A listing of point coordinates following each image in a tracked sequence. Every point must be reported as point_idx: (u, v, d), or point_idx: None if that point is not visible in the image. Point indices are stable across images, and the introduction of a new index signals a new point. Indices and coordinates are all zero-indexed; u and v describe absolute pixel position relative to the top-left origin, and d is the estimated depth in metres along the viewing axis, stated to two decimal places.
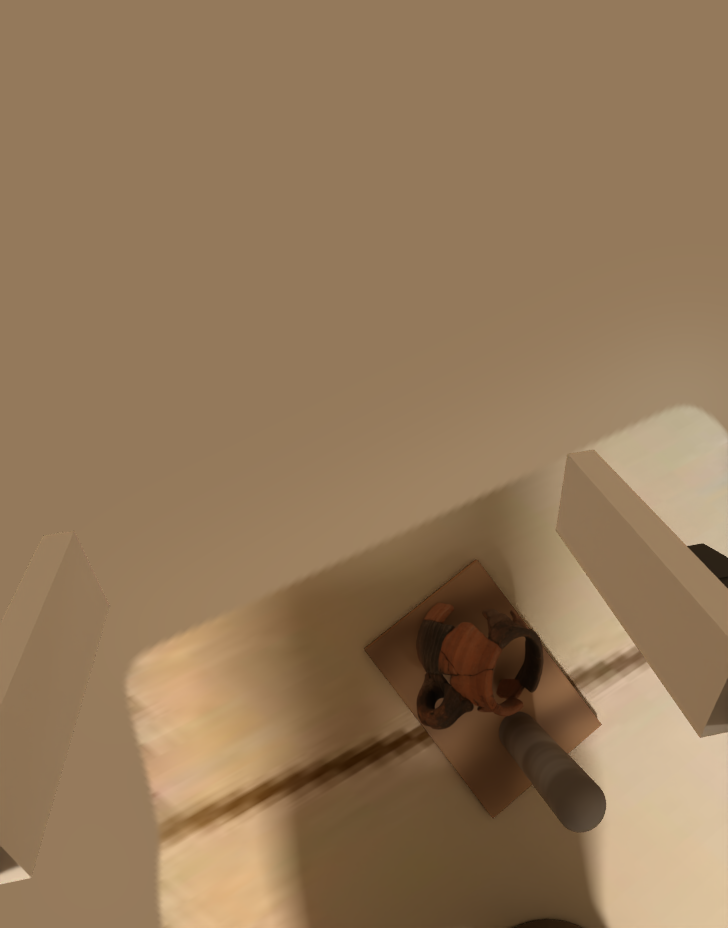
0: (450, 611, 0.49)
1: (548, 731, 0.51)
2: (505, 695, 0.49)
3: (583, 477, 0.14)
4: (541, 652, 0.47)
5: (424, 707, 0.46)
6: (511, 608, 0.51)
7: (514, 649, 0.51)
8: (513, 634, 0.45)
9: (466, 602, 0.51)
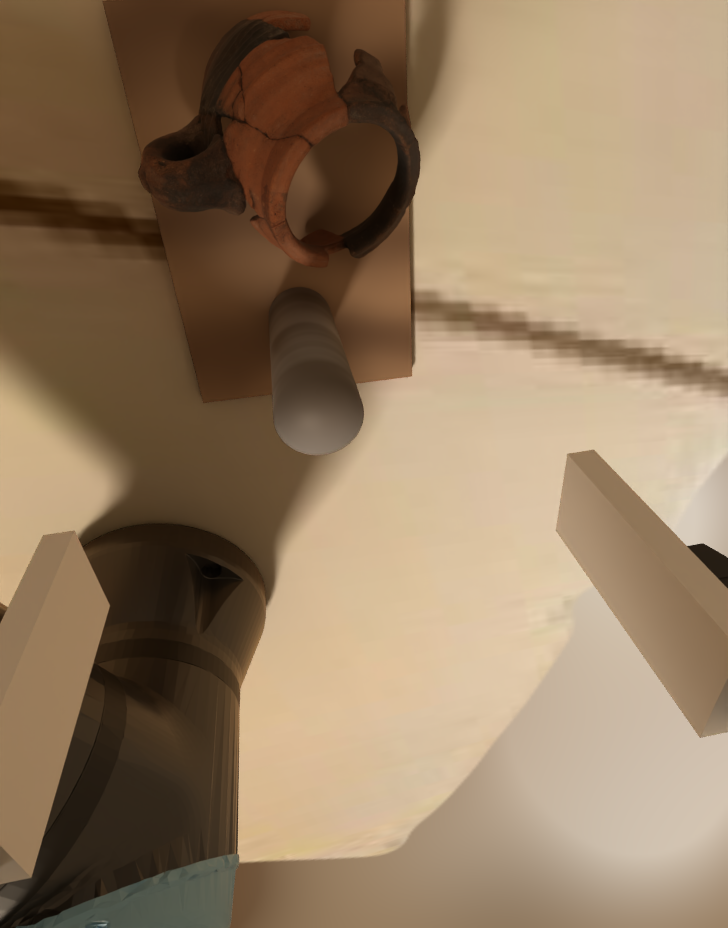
0: (299, 26, 0.23)
1: None
2: None
3: (583, 477, 0.14)
4: (406, 202, 0.26)
5: (155, 152, 0.23)
6: None
7: (366, 197, 0.29)
8: (385, 114, 0.22)
9: (340, 53, 0.26)
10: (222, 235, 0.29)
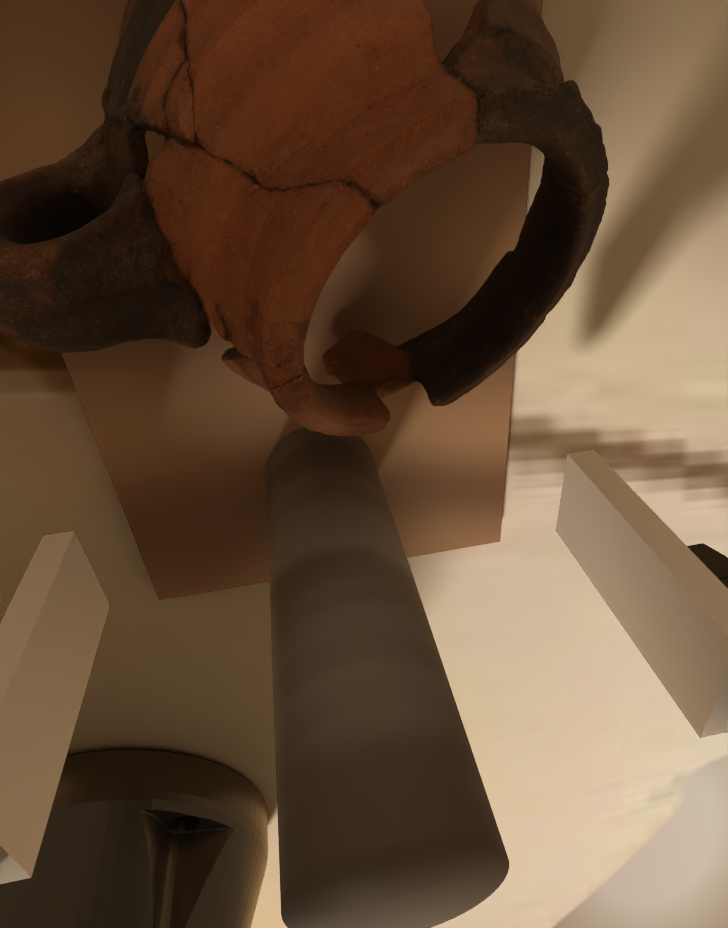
0: None
1: (388, 503, 0.20)
2: (345, 373, 0.15)
3: (583, 477, 0.14)
4: (552, 303, 0.12)
5: None
6: None
7: (445, 272, 0.16)
8: (563, 119, 0.08)
9: None
10: (178, 346, 0.16)
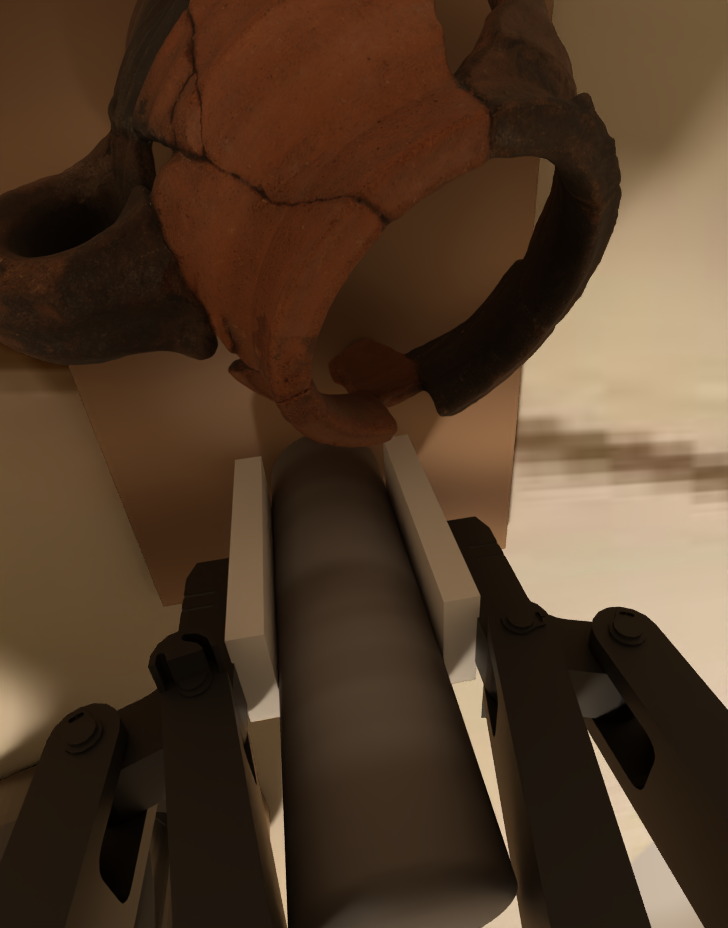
0: None
1: None
2: (351, 381, 0.15)
3: (388, 458, 0.16)
4: (562, 314, 0.12)
5: None
6: None
7: (452, 280, 0.16)
8: (576, 133, 0.08)
9: None
10: None
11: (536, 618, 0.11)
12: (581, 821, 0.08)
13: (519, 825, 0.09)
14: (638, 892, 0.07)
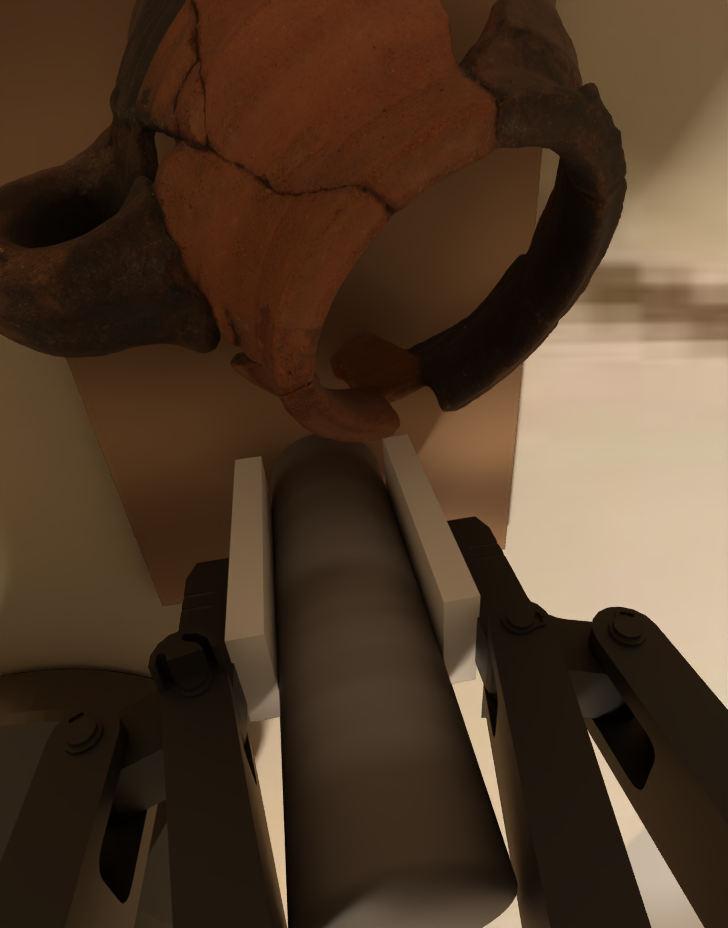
0: None
1: None
2: (353, 377, 0.15)
3: (389, 458, 0.16)
4: (565, 308, 0.12)
5: None
6: (534, 148, 0.14)
7: (453, 281, 0.16)
8: (583, 123, 0.08)
9: None
10: (184, 354, 0.16)
11: (536, 618, 0.11)
12: (581, 821, 0.08)
13: (519, 825, 0.09)
14: (638, 892, 0.07)
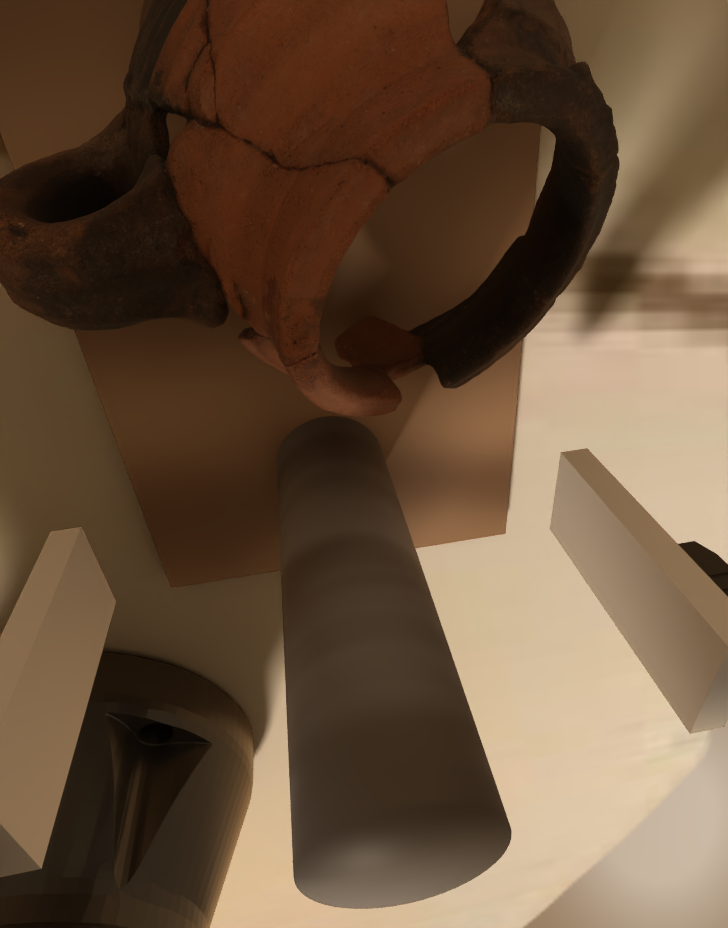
0: None
1: None
2: (357, 357, 0.15)
3: (576, 475, 0.14)
4: (562, 286, 0.12)
5: (10, 200, 0.10)
6: (532, 137, 0.15)
7: (454, 268, 0.16)
8: (574, 100, 0.09)
9: None
10: (192, 339, 0.16)
11: None
12: None
13: None
14: None
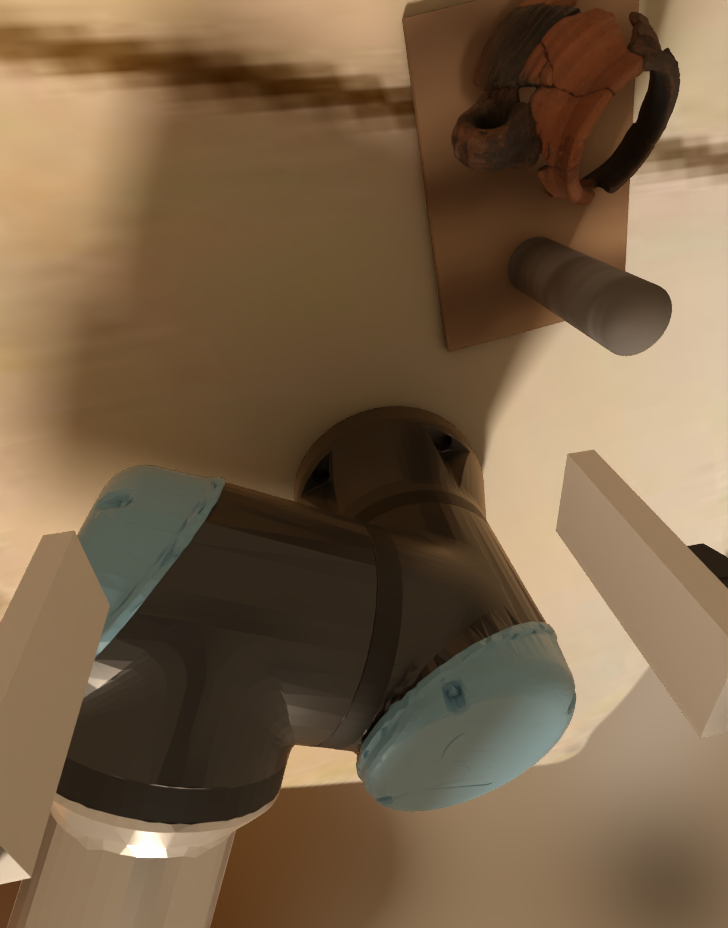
0: (570, 3, 0.28)
1: None
2: None
3: (583, 477, 0.14)
4: (658, 137, 0.31)
5: (470, 125, 0.28)
6: None
7: (596, 148, 0.34)
8: (666, 60, 0.27)
9: None
10: (478, 199, 0.35)
11: None
12: None
13: None
14: None
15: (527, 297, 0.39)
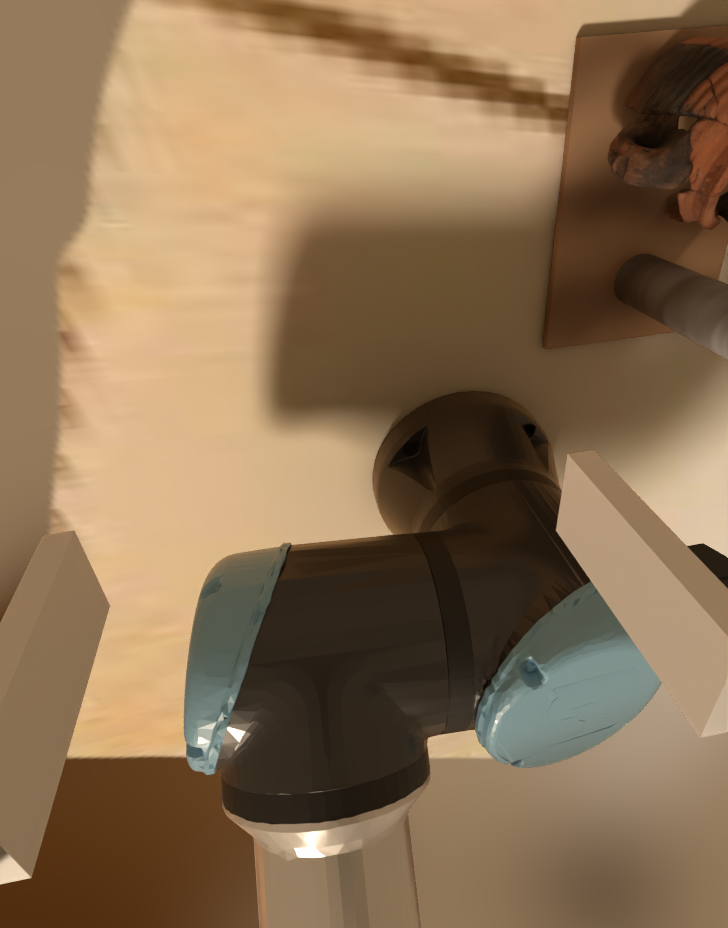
0: None
1: None
2: None
3: (583, 477, 0.14)
4: None
5: (633, 142, 0.31)
6: None
7: None
8: None
9: None
10: (604, 211, 0.38)
11: None
12: None
13: None
14: None
15: (625, 308, 0.42)
